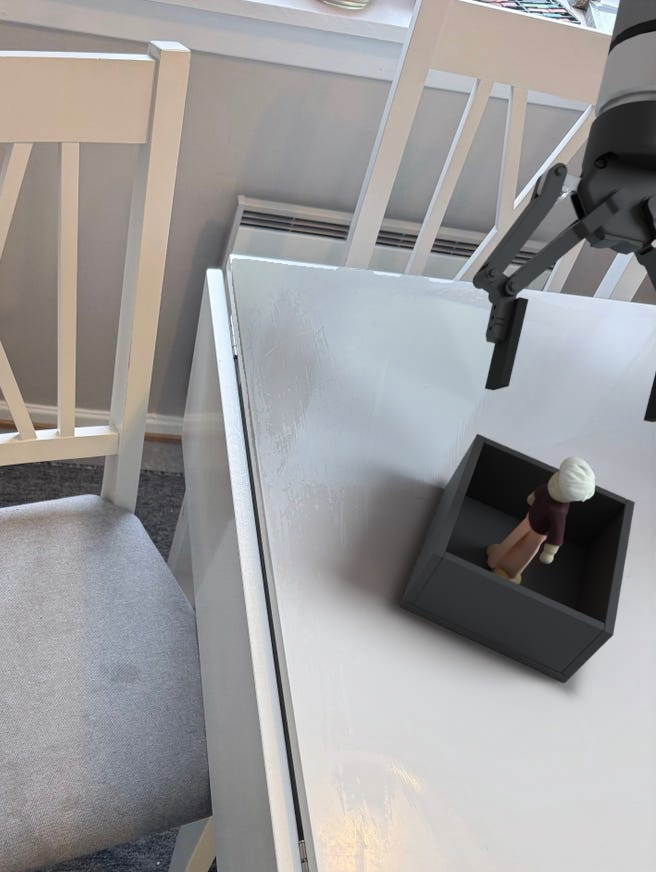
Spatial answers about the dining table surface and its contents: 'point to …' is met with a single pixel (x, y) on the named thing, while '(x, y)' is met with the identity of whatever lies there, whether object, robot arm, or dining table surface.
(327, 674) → the dining table surface
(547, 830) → the dining table surface
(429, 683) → the dining table surface
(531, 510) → the grandmother figurine
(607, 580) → the bin
